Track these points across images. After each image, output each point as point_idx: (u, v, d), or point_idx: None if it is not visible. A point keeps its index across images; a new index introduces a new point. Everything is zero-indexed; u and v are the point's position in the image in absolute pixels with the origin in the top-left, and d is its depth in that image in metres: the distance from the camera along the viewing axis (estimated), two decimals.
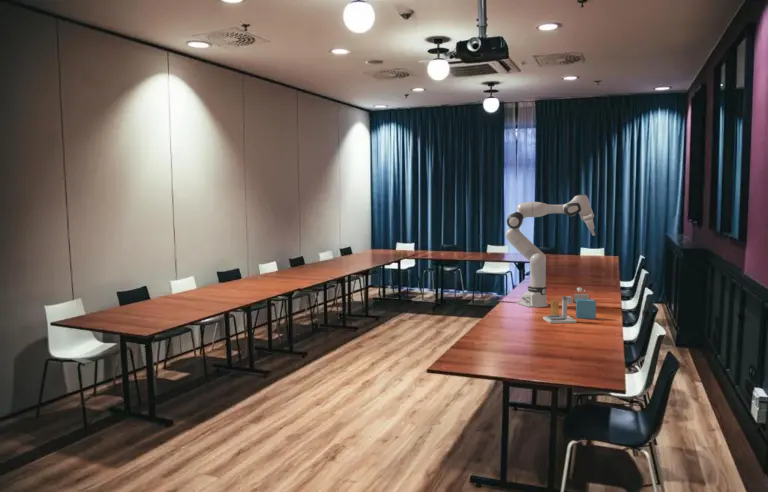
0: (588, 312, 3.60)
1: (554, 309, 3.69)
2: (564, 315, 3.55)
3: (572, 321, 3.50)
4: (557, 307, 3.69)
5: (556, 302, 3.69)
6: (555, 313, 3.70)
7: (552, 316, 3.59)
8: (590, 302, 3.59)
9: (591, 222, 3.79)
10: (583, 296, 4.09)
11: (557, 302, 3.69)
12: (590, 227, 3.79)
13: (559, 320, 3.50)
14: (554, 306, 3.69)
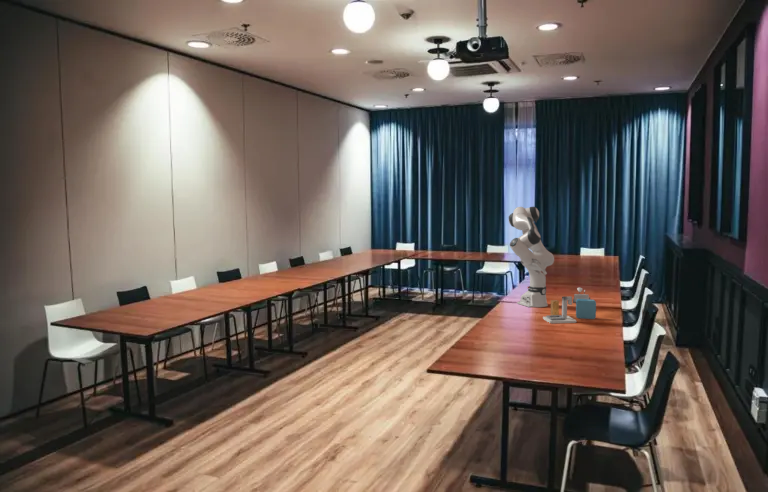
0: (588, 312, 3.60)
1: (554, 309, 3.69)
2: (564, 315, 3.55)
3: (572, 321, 3.50)
4: (557, 307, 3.69)
5: (556, 302, 3.69)
6: (555, 313, 3.70)
7: (552, 316, 3.59)
8: (590, 302, 3.59)
9: None
10: (583, 296, 4.09)
11: (557, 302, 3.69)
12: None
13: (559, 320, 3.50)
14: (554, 306, 3.69)
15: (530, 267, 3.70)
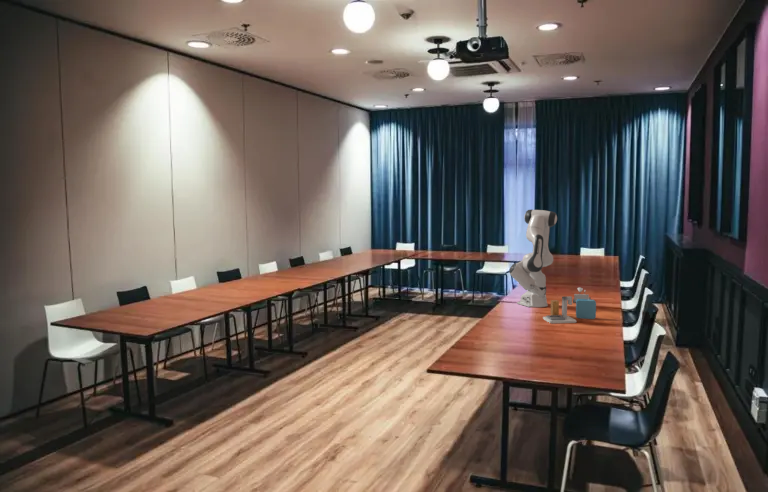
0: (588, 312, 3.60)
1: (554, 309, 3.69)
2: (564, 315, 3.55)
3: (572, 321, 3.50)
4: (557, 307, 3.69)
5: (556, 302, 3.69)
6: (555, 313, 3.70)
7: (552, 316, 3.59)
8: (590, 302, 3.59)
9: None
10: (583, 296, 4.09)
11: (557, 302, 3.69)
12: None
13: (559, 320, 3.50)
14: (554, 306, 3.69)
15: (531, 291, 3.74)
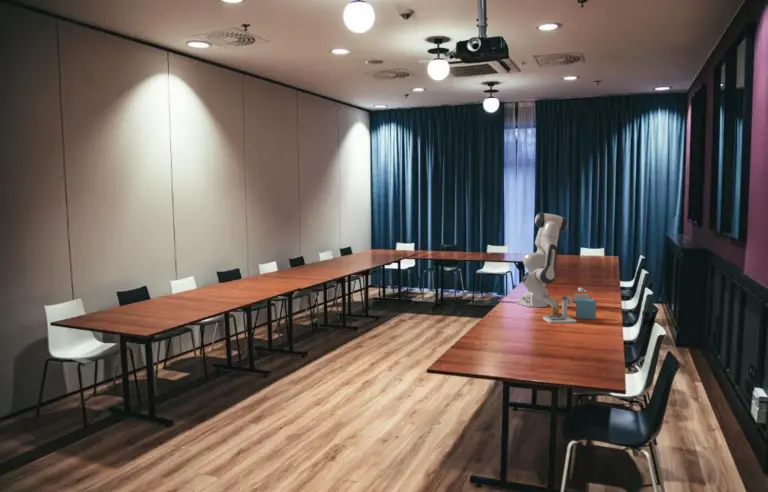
0: (588, 312, 3.60)
1: (554, 309, 3.69)
2: (564, 315, 3.55)
3: (572, 321, 3.50)
4: None
5: None
6: (555, 313, 3.70)
7: (552, 316, 3.59)
8: (590, 302, 3.59)
9: None
10: (583, 296, 4.10)
11: (557, 302, 3.69)
12: None
13: (559, 320, 3.50)
14: None
15: (544, 300, 3.75)
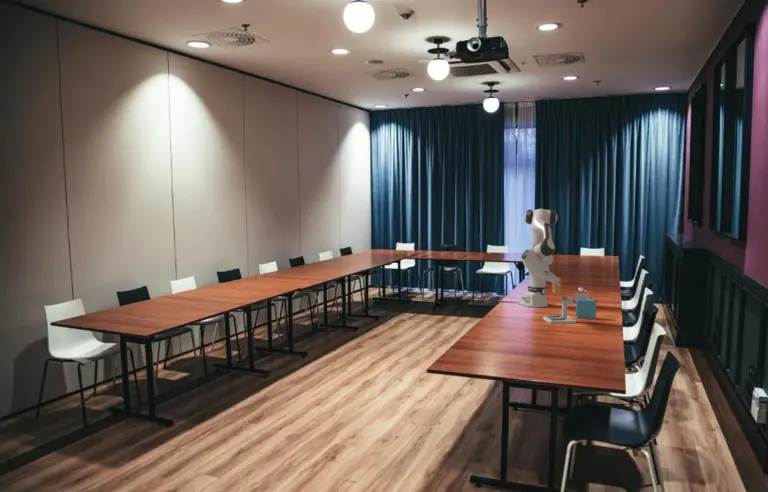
0: (588, 312, 3.60)
1: (556, 286, 3.54)
2: (564, 315, 3.55)
3: (572, 321, 3.50)
4: None
5: None
6: (557, 290, 3.54)
7: (552, 316, 3.59)
8: (590, 302, 3.59)
9: None
10: (583, 296, 4.10)
11: (559, 279, 3.54)
12: None
13: (559, 320, 3.50)
14: None
15: (545, 278, 3.60)
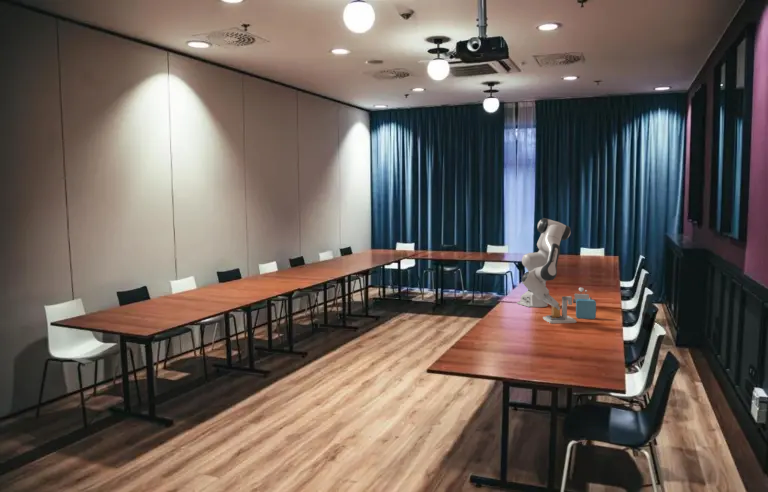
0: (588, 312, 3.60)
1: (555, 312, 3.53)
2: (564, 315, 3.55)
3: (572, 321, 3.50)
4: (558, 310, 3.53)
5: None
6: (556, 316, 3.54)
7: None
8: (590, 302, 3.59)
9: None
10: (583, 296, 4.10)
11: (558, 305, 3.53)
12: None
13: (559, 320, 3.50)
14: (555, 309, 3.53)
15: (544, 300, 3.59)
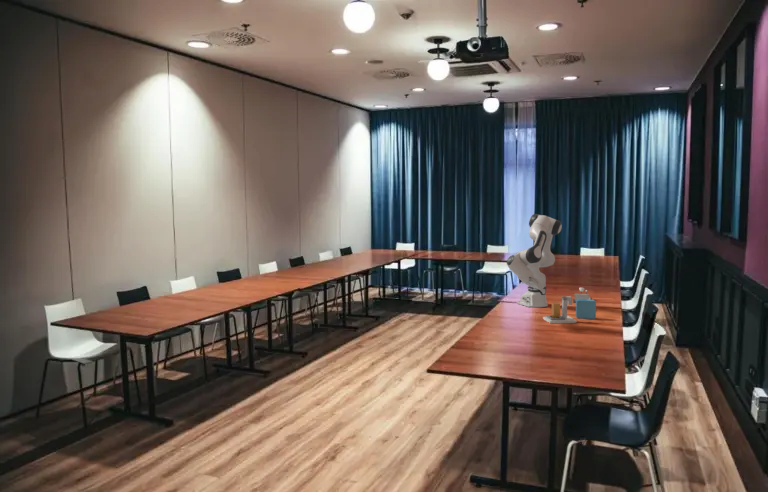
0: (588, 312, 3.60)
1: (555, 312, 3.53)
2: (564, 315, 3.55)
3: (572, 321, 3.50)
4: (558, 310, 3.53)
5: (557, 305, 3.53)
6: (556, 316, 3.54)
7: None
8: (590, 302, 3.59)
9: None
10: (583, 296, 4.10)
11: (558, 305, 3.53)
12: None
13: (559, 320, 3.50)
14: (555, 309, 3.53)
15: (528, 284, 3.59)
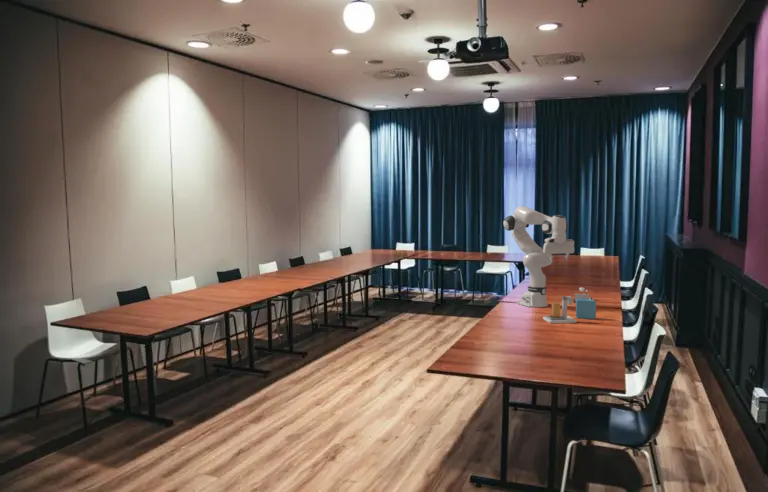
0: (588, 312, 3.60)
1: (555, 312, 3.53)
2: (564, 315, 3.55)
3: (572, 321, 3.50)
4: (558, 310, 3.53)
5: (557, 305, 3.53)
6: (556, 316, 3.54)
7: None
8: (590, 302, 3.59)
9: (545, 246, 3.66)
10: (583, 296, 4.10)
11: (558, 305, 3.53)
12: (543, 250, 3.68)
13: (559, 320, 3.50)
14: (555, 309, 3.53)
15: (552, 250, 3.66)
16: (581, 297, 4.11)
